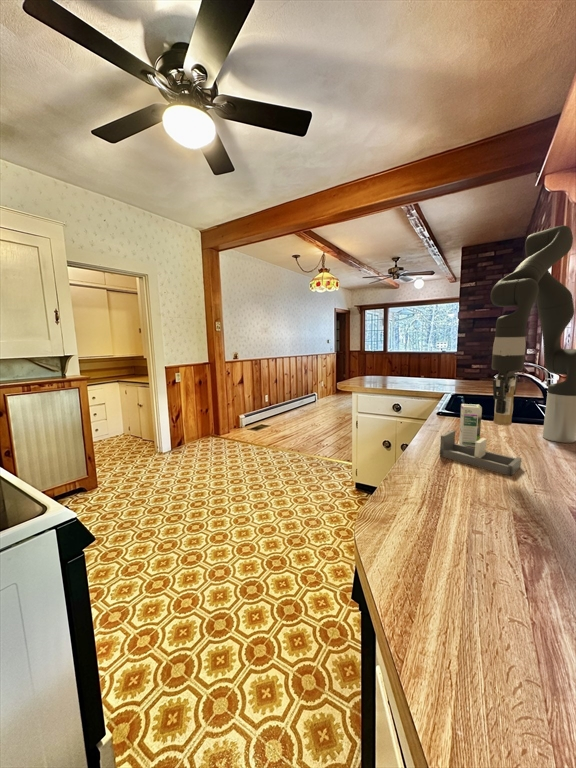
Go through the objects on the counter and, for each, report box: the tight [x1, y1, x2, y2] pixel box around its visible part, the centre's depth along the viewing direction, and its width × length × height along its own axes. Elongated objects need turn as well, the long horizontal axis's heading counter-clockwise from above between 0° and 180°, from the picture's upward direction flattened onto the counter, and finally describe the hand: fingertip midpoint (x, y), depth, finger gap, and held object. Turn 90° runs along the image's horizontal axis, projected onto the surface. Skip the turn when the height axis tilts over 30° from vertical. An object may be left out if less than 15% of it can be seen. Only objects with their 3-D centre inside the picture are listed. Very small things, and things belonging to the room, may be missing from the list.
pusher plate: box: [474, 437, 488, 458], centre depth 97 cm, size 6×1×5 cm, turn 130°
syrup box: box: [458, 403, 483, 448], centre depth 112 cm, size 6×6×14 cm
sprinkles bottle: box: [492, 379, 516, 427], centre depth 91 cm, size 5×5×13 cm
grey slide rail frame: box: [439, 429, 522, 477], centre depth 98 cm, size 8×20×7 cm, turn 40°
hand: (503, 411), depth 92 cm, fingers closed on sprinkles bottle, 4 cm apart
